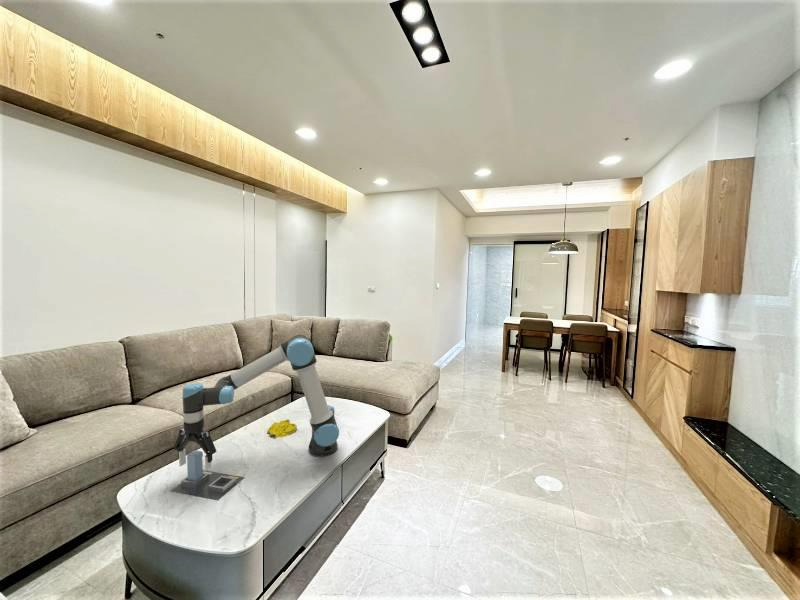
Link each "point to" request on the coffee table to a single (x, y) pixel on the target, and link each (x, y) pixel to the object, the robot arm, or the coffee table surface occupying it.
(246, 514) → the coffee table surface
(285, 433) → the door knocker
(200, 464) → the plug
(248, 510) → the coffee table surface
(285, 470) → the coffee table surface
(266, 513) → the coffee table surface
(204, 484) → the panel
